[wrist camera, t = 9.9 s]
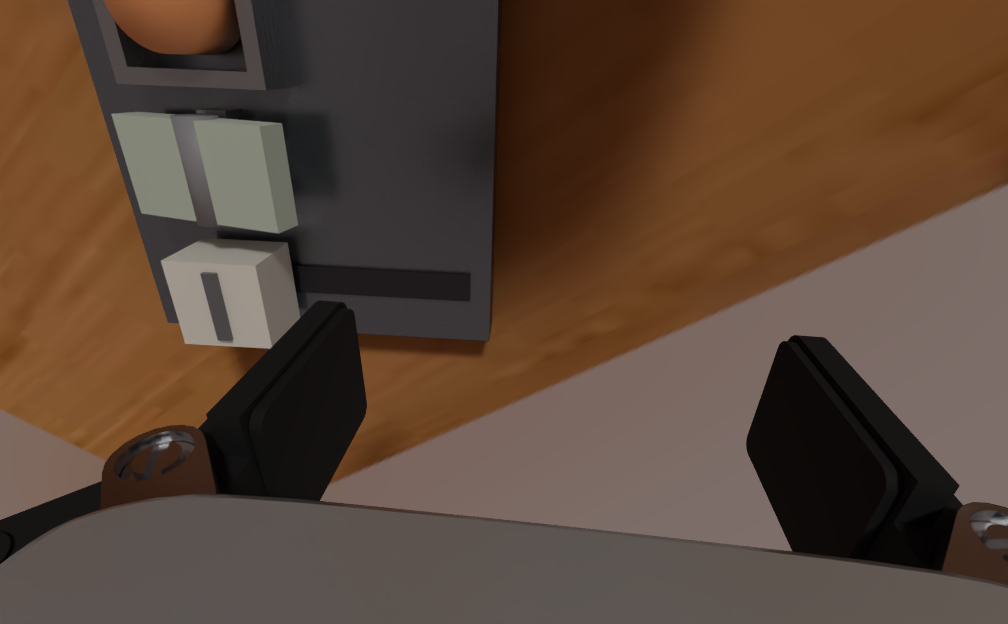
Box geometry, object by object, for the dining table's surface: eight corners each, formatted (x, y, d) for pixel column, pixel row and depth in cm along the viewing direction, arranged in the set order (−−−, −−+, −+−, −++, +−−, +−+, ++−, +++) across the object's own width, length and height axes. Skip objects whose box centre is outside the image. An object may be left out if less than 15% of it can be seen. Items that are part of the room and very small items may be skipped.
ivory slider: (287, 242, 23) (252, 267, 20) (300, 317, 25) (270, 351, 22) (203, 238, 23) (157, 262, 20) (222, 313, 25) (182, 346, 22)
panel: (509, -270, 17) (503, -361, 13) (491, 322, 27) (485, 361, 24) (26, -281, 17) (-106, -372, 14) (191, 305, 28) (141, 341, 24)
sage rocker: (285, 120, 19) (254, 123, 17) (301, 226, 21) (275, 237, 19) (143, 108, 20) (105, 111, 19) (170, 207, 22) (137, 216, 21)
